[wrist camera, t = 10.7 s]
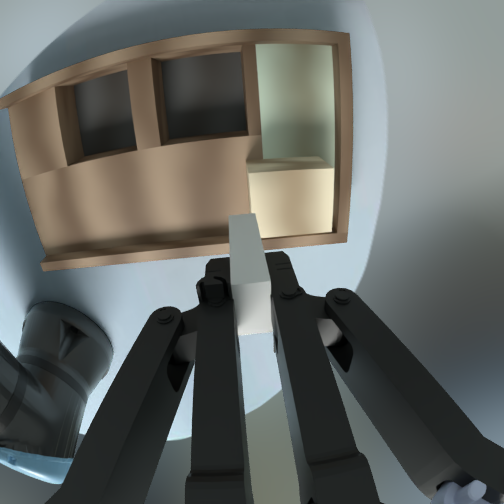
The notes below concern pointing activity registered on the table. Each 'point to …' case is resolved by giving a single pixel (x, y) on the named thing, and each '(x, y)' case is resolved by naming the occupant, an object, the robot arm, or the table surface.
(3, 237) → the table surface
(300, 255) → the table surface
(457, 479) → the robot arm
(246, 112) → the track
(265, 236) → the block
